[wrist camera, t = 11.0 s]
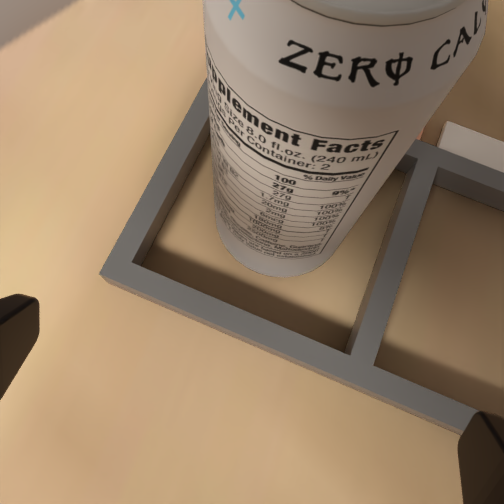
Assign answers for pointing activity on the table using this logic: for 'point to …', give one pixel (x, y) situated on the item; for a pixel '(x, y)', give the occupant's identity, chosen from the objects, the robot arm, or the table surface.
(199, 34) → the table surface
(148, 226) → the grey divided frame
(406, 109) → the energy drink can
